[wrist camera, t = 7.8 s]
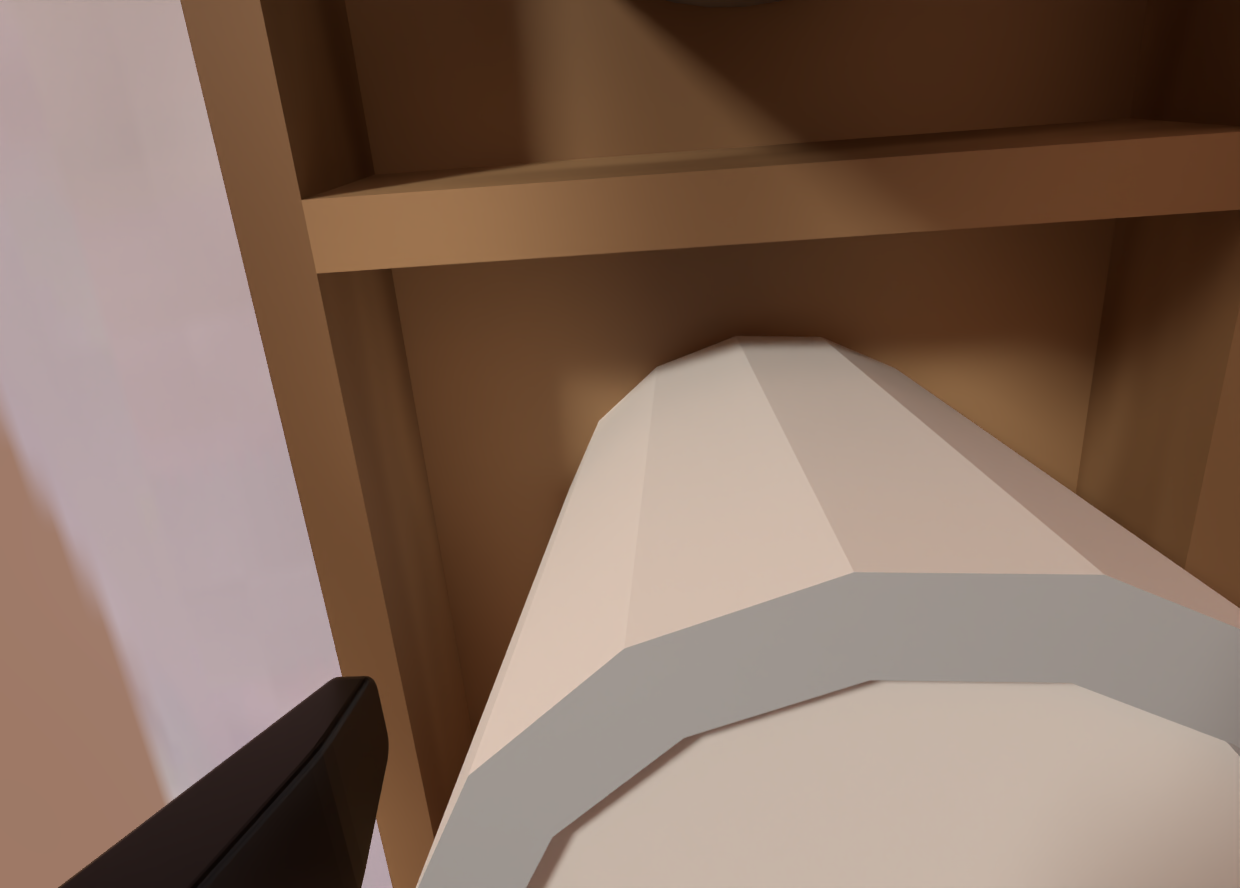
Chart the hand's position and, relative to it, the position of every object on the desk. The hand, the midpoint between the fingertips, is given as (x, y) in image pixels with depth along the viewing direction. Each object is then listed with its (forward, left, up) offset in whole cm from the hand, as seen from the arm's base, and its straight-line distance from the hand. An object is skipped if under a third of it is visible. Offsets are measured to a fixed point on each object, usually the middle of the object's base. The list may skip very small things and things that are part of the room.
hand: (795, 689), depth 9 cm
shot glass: (0, 0, -4) cm, 4 cm away
